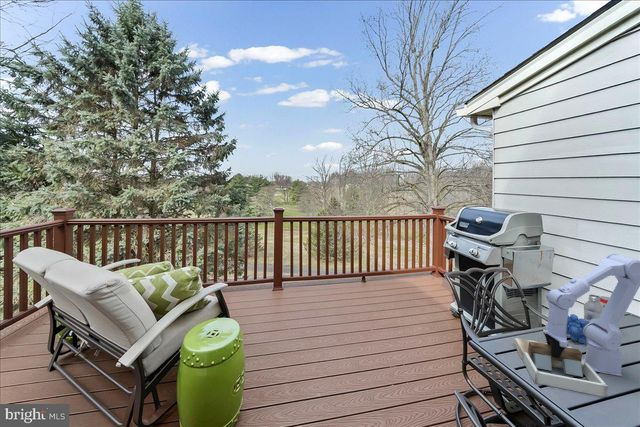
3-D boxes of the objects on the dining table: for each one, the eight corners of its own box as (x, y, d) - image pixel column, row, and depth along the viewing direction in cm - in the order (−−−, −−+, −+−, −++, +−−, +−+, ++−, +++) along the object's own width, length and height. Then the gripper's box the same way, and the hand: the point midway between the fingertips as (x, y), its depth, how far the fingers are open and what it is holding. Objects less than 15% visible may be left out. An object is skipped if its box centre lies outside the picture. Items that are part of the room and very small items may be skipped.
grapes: (555, 338, 134) (558, 313, 132) (560, 333, 138) (563, 309, 136) (589, 350, 124) (592, 323, 123) (593, 345, 128) (596, 319, 127)
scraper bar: (577, 360, 112) (578, 349, 112) (580, 364, 110) (582, 353, 109) (527, 351, 118) (529, 341, 117) (530, 356, 115) (531, 345, 114)
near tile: (577, 361, 110) (580, 361, 108) (580, 376, 108) (583, 376, 106) (561, 358, 111) (563, 358, 110) (563, 373, 109) (566, 373, 108)
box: (586, 373, 109) (587, 363, 109) (606, 397, 97) (607, 386, 97) (523, 361, 116) (524, 352, 116) (534, 382, 104) (535, 372, 104)
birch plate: (570, 353, 122) (570, 346, 121) (586, 373, 109) (587, 365, 109) (514, 344, 128) (514, 337, 128) (523, 361, 116) (524, 354, 116)
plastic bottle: (575, 334, 137) (580, 293, 134) (589, 334, 137) (594, 293, 135) (589, 342, 130) (594, 299, 128) (603, 341, 131) (609, 298, 128)
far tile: (548, 355, 113) (550, 356, 111) (549, 369, 111) (551, 370, 109) (533, 352, 114) (535, 353, 113) (534, 367, 113) (535, 367, 111)
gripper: (538, 311, 120) (534, 342, 122) (552, 328, 106) (548, 363, 108) (558, 314, 118) (555, 346, 119) (576, 332, 104) (572, 367, 106)
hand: (553, 354), depth 113 cm, fingers closed on scraper bar, 3 cm apart
